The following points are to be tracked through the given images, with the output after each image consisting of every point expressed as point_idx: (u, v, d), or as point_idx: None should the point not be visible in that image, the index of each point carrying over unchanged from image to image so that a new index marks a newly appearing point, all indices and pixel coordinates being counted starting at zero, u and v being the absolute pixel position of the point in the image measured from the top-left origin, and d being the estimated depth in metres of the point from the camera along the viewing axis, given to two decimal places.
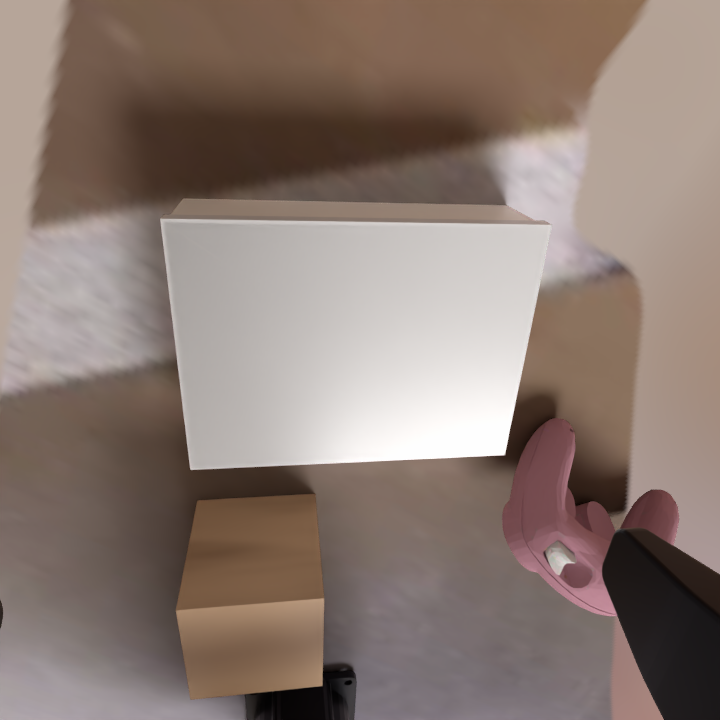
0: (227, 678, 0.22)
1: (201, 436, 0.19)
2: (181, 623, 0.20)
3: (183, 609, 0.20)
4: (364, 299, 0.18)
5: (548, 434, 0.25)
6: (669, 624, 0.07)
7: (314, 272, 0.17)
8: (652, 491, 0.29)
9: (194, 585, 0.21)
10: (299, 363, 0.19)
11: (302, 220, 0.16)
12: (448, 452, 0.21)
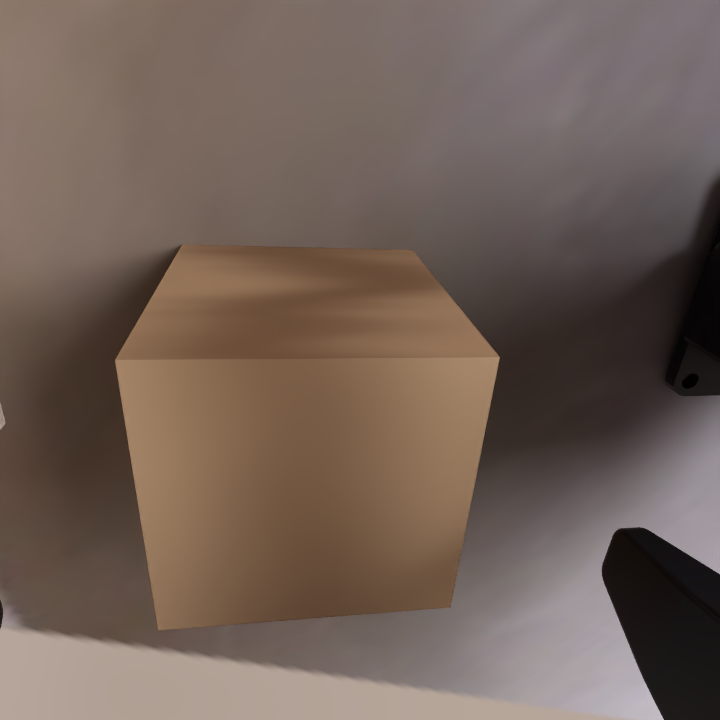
0: (399, 552, 0.10)
1: None
2: (200, 622, 0.10)
3: (162, 616, 0.10)
4: None
5: None
6: (669, 624, 0.07)
7: None
8: None
9: None
10: None
11: None
12: None
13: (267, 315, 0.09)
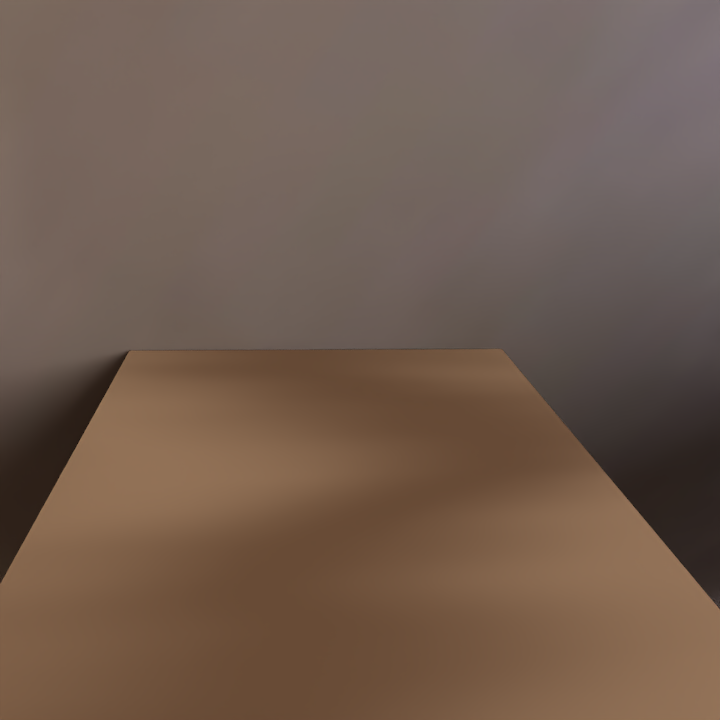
0: None
1: None
2: None
3: None
4: None
5: None
6: None
7: None
8: None
9: None
10: None
11: None
12: None
13: (272, 606, 0.04)
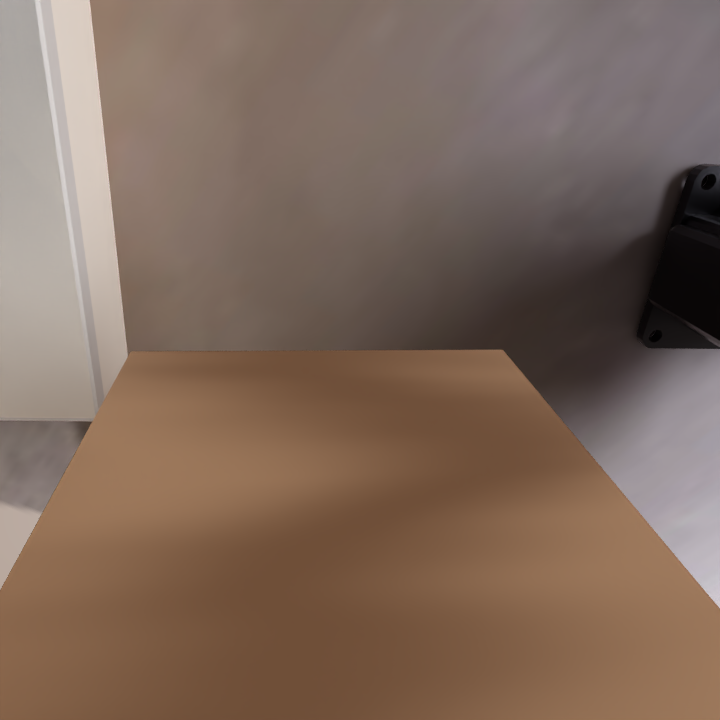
0: None
1: (40, 405, 0.15)
2: None
3: None
4: None
5: None
6: None
7: None
8: None
9: None
10: None
11: None
12: (28, 13, 0.11)
13: (275, 607, 0.04)
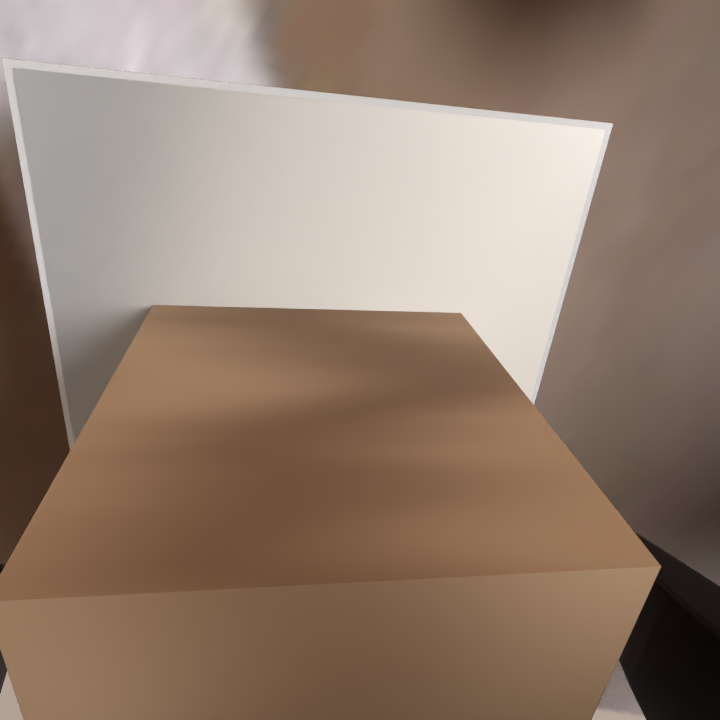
0: None
1: None
2: None
3: None
4: None
5: None
6: (652, 625, 0.07)
7: None
8: None
9: None
10: None
11: None
12: (560, 262, 0.10)
13: (268, 460, 0.06)
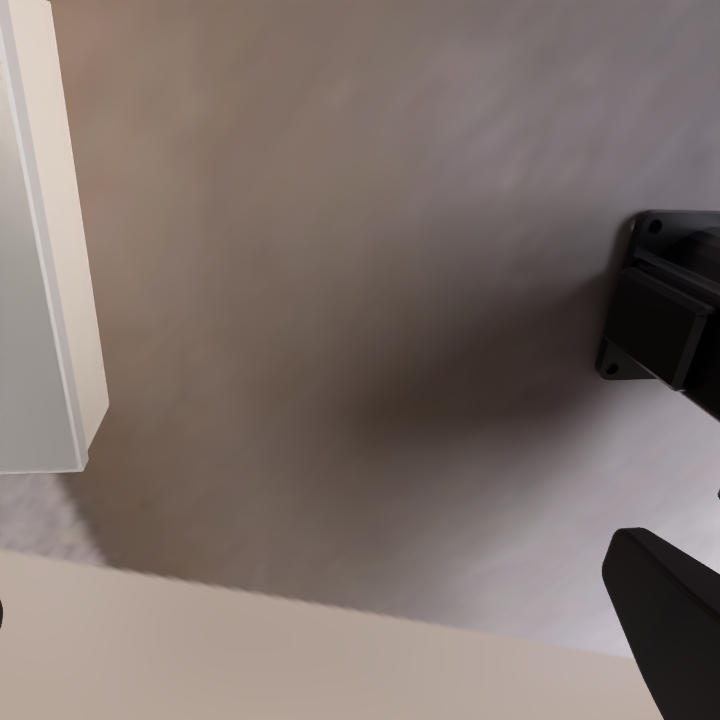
0: None
1: (24, 459, 0.16)
2: None
3: None
4: None
5: None
6: (669, 624, 0.07)
7: None
8: None
9: None
10: None
11: None
12: (2, 105, 0.12)
13: None
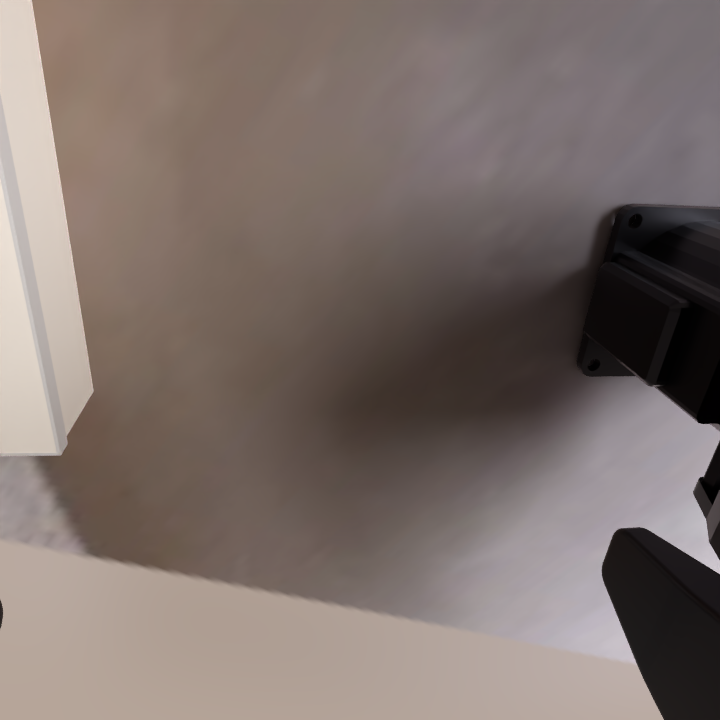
0: None
1: (3, 441, 0.16)
2: None
3: None
4: None
5: None
6: (669, 624, 0.07)
7: None
8: None
9: None
10: None
11: None
12: None
13: None
